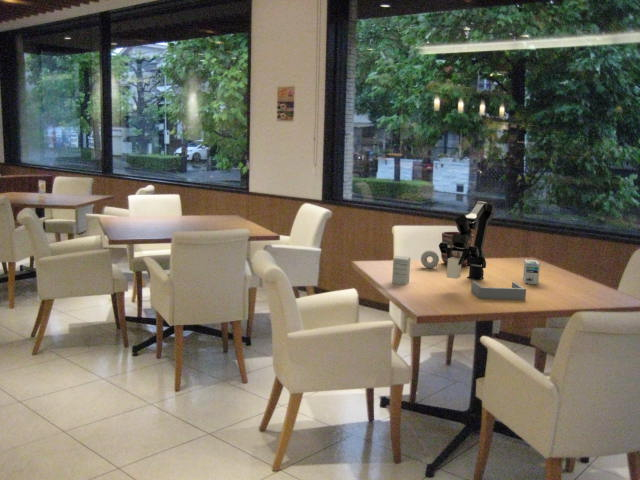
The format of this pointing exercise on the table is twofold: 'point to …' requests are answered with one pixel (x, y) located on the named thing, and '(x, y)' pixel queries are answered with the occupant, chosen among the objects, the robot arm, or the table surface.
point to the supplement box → (401, 270)
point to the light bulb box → (531, 271)
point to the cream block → (453, 268)
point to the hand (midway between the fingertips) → (453, 264)
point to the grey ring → (431, 254)
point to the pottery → (447, 239)
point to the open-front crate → (499, 292)
